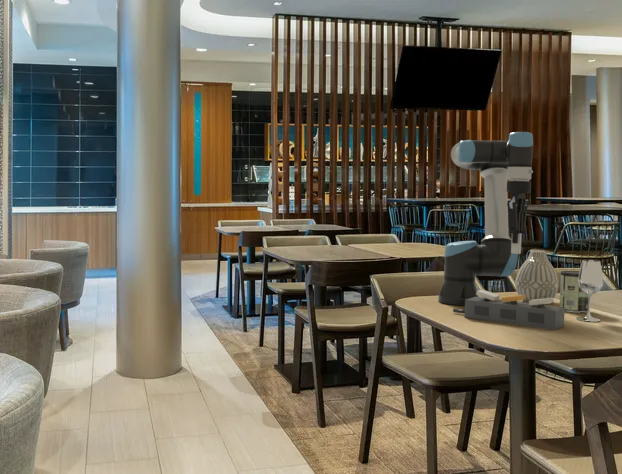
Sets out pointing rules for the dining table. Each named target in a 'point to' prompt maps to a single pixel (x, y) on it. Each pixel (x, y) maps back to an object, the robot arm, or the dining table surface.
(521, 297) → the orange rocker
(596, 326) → the dining table surface
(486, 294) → the block
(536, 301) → the block
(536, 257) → the vase
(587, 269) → the wineglass
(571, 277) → the coffee can
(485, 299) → the power strip
